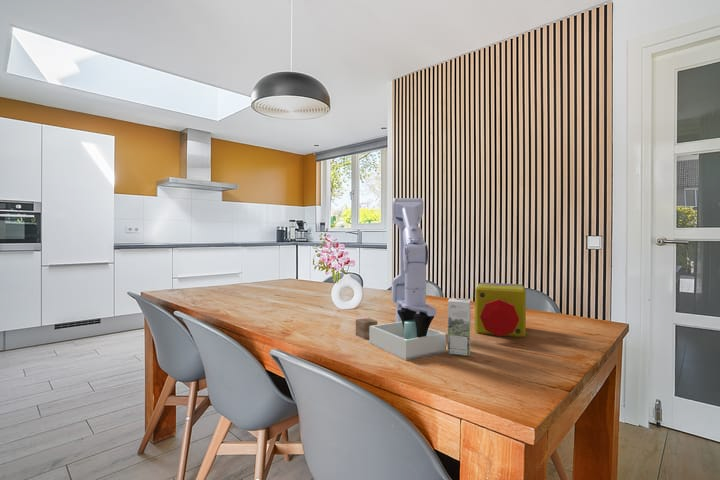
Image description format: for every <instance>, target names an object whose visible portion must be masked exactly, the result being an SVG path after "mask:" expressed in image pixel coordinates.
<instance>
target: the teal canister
mask: <svg viewBox="0 0 720 480" xmlns="http://www.w3.org/2000/svg"><path fill="white" fill-rule="evenodd" d="M412 338H417V327H416V322H415V320H405V321H404V339H412Z"/></svg>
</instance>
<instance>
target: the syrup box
mask: <svg viewBox="0 0 720 480" xmlns="http://www.w3.org/2000/svg"><path fill="white" fill-rule="evenodd" d="M471 300H472V299H471V298H458V297H456V298H455V297H449V298H448V301H447V354H448V355H450V356H451V355H452V356H459V357H460V356H462V357H471V356H470V355H471V316H472V315H471V312H472V311H471V309H472V306H471V305H472V304H471V303H472V301H471Z"/></svg>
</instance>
